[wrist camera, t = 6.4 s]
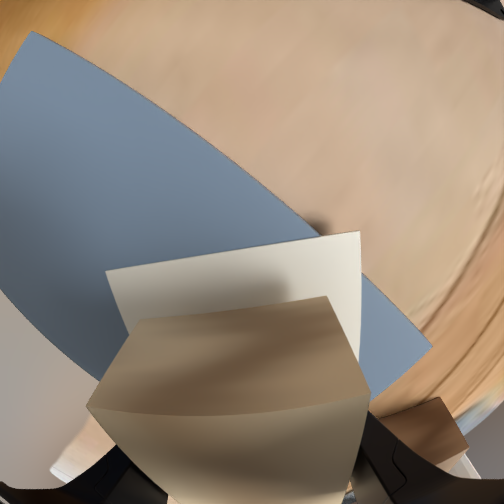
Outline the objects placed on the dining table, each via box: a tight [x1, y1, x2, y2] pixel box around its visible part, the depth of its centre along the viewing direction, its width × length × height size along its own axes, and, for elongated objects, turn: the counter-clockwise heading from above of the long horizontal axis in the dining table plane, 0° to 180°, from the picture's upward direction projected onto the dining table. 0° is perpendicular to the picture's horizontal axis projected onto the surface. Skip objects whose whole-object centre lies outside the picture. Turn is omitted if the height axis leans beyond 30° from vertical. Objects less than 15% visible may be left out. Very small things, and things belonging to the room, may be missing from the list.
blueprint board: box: [0, 31, 433, 401], centre depth 10 cm, size 25×14×1 cm, turn 51°
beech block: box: [86, 295, 371, 504], centre depth 7 cm, size 6×8×4 cm
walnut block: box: [378, 397, 469, 473], centre depth 12 cm, size 5×6×5 cm
